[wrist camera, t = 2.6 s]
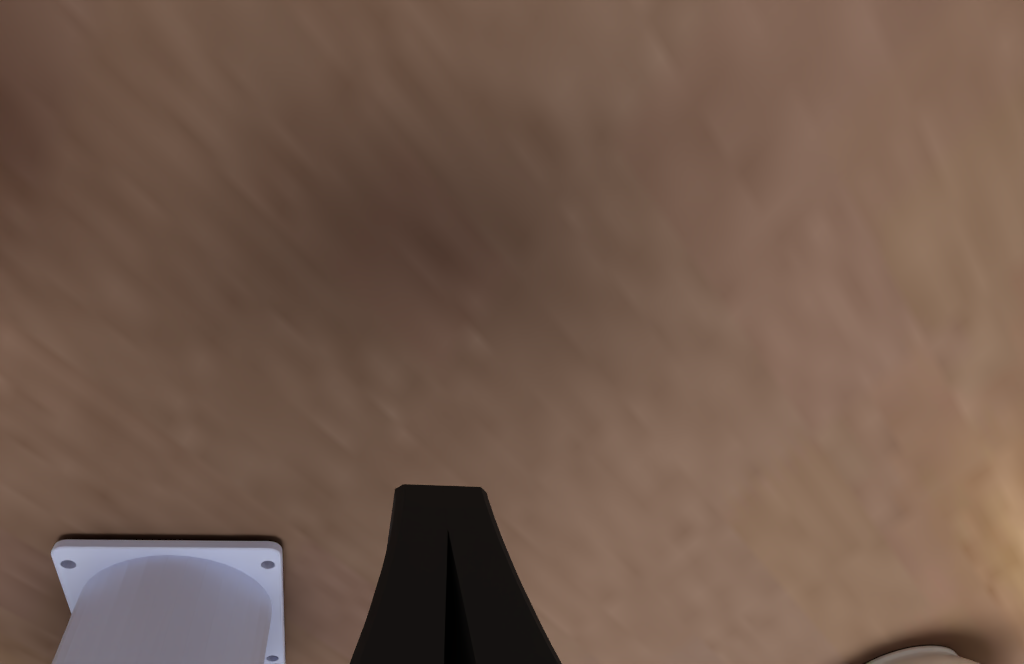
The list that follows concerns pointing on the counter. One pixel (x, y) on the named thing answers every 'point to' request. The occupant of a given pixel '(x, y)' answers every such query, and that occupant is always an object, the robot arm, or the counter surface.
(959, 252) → the counter surface
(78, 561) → the robot arm
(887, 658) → the lidded bowl
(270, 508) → the counter surface
